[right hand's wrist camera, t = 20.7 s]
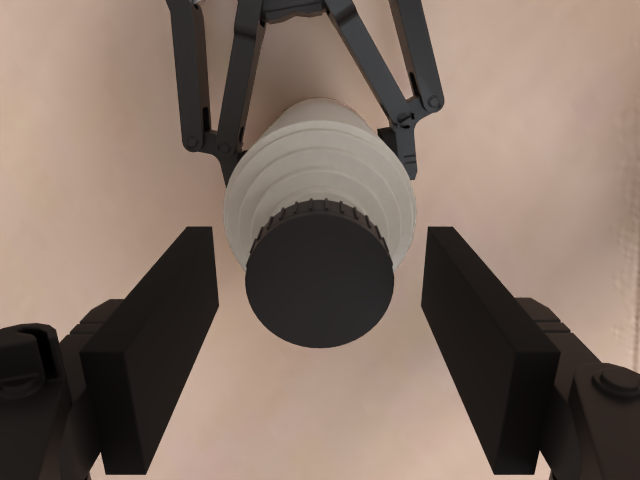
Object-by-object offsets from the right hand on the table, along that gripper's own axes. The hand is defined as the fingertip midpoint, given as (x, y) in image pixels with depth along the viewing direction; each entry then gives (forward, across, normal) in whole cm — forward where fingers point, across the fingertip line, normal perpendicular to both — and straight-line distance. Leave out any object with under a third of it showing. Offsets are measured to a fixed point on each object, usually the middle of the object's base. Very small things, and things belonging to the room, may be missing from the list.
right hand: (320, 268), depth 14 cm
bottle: (+21, 0, 0) cm, 21 cm away
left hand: (+15, +1, -5) cm, 16 cm away
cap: (-1, 0, 0) cm, 1 cm away
